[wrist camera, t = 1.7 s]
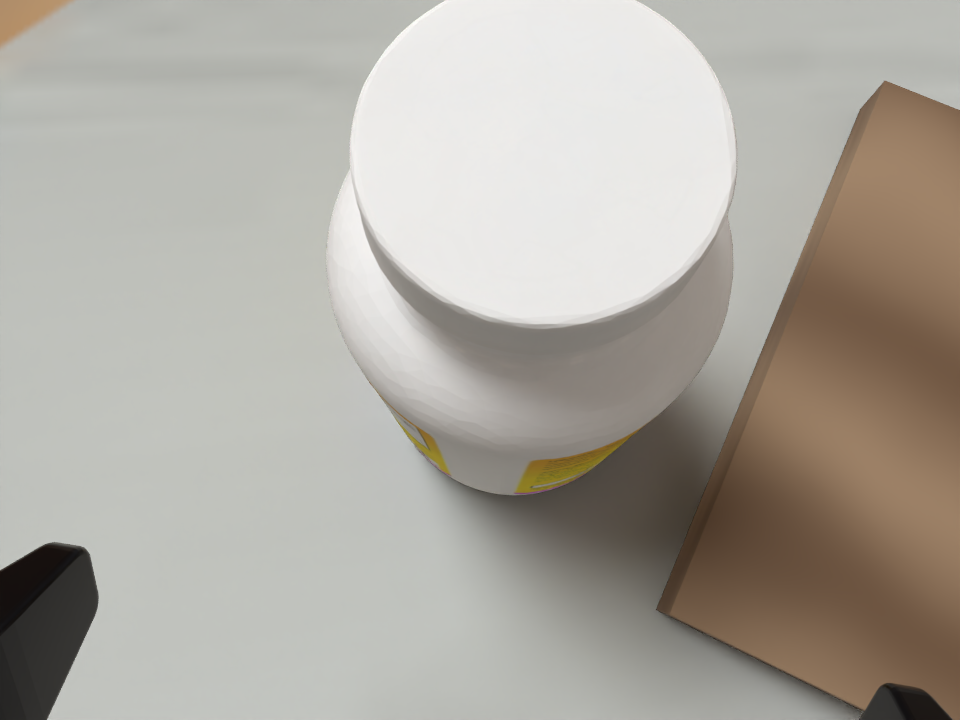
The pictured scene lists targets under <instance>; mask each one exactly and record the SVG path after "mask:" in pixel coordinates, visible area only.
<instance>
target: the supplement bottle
mask: <svg viewBox="0 0 960 720" xmlns="http://www.w3.org/2000/svg"><path fill="white" fill-rule="evenodd" d="M349 150H350V170H349V172H348V174H347V176H346V178H345V180H344V182H343V185H342V187H341V190H340V192H339V195H338V197H337V200H336V203H335V206H334V209H333V213H332V217H331V221H330V226H329V232H328V240H327V252H326V271H327V279H328V287H329V293H330V299H331V304H332V308H333V311H334V315H335V318H336V321H337V324H338V327H339V329H340V332H341V334H342V337H343V339H344V341H345V343H346V345H347V347H348V349H349V351H350V353H351V354H352V356H353V358H354V359H355V361H356V363H357V364H358V366H359V367H360V369H361V370H362V372H363V373H364V375H365V377H366V378H367V380H368V381H369V383H370V384H371V385H372V386H373V388H374V389H375V390H376V391H377V393H378V394H379V396H380V397H381V398H382V400H383V401H384V403H385V404H386V406H387V407H388V408H389V410H390V411H391V413H392V414H393V416H394V417H395V419H396V420H397V422H398V423H399V425H400V426H401V428H402V429H403V430H404V432H405V433H406V435H407V436H408V438H409V439H410V440H411V442H412V443H413V444H414V445H415V447H416V448H417V449H418V450H419V452H420V453H421V454H422V455H423V456H424V457H425V458H426V459H427V460H428V461H430V462H431V463H432V464H433V465H434V466H435V467H437V468H438V469H439V470H440V471H442V472H443V473H445V474H446V475H448V476H449V477H451V478H453V479H455V480H456V481H458V482H460V483H462V484H464V485H467V486H469V487H472V488H475V489H477V490H481V491H485V492H489V493H495V494H502V495H527V494H535V493H541V492H545V491H548V490H552V489H555V488H558V487H561V486H563V485H565V484H568V483H570V482H572V481H574V480H576V479H577V478H579V477H581V476H582V475H584V474H585V473H587V472H588V471H590V470H591V469H593V468H594V467H595V466H597V465H598V464H599V463H600V462H601V461H603V460H604V459H605V458H606V457H607V456H609V455H610V454H611V453H612V452H613V451H615V450H616V449H617V448H618V447H619V446H621V445H622V444H623V443H624V442H625V441H626V440H628V439H629V438H630V437H631V436H632V435H634V434H635V433H636V432H638V431H639V430H640V429H641V428H642V427H644V426H645V425H646V424H647V423H649V422H650V421H651V420H653V419H654V418H655V417H656V416H658V415H659V414H660V413H661V412H662V411H664V410H665V409H666V408H667V407H668V406H669V405H670V404H671V403H672V402H673V401H674V400H675V399H676V398H677V397H678V396H679V395H680V394H681V393H682V392H683V391H684V390H685V389H686V387H687V386H688V385H689V384H690V383H691V382H692V380H693V379H694V378H695V377H696V375H697V374H698V373H699V371H700V370H701V368H702V367H703V365H704V363H705V362H706V360H707V358H708V356H709V355H710V353H711V351H712V349H713V347H714V345H715V343H716V341H717V339H718V337H719V334H720V332H721V329H722V326H723V323H724V320H725V317H726V314H727V310H728V305H729V299H730V293H731V286H732V279H733V244H732V236H731V231H730V226H729V221H728V216H727V214H728V211H729V208H730V205H731V202H732V199H733V194H734V189H735V185H736V175H737V141H736V134H735V127H734V122H733V118H732V114H731V111H730V108H729V105H728V101H727V98H726V95H725V93H724V91H723V89H722V87H721V84H720V82H719V80H718V79H717V77H716V75H715V73H714V71H713V69H712V68H711V67H710V65H709V64H708V62H707V61H706V59H705V57H704V56H703V55H702V54H701V52H700V51H699V50H698V49H697V47H696V46H695V45H694V44H693V43H692V42H691V41H690V40H689V39H688V38H687V37H686V36H685V35H684V34H683V33H682V32H681V31H680V30H679V29H677V28H676V27H675V26H674V25H673V24H672V23H670V22H669V21H668V20H666V19H665V18H664V17H662V16H661V15H659V14H658V13H656V12H655V11H653V10H652V9H650V8H648V7H647V6H645V5H643V4H642V3H640V2H638V1H636V0H446V1H444V2H442V3H441V4H439V5H437V6H436V7H434V8H433V9H431V10H429V11H428V12H426V13H425V14H423V15H422V16H421V17H419V18H418V19H417V20H415V21H414V22H413V23H412V24H410V25H409V26H408V27H407V28H406V29H405V30H404V31H402V32H401V33H400V34H399V35H398V36H397V37H396V39H395V40H394V41H393V42H392V43H391V44H390V45H389V47H388V48H387V49H386V50H385V51H384V53H383V54H382V56H381V57H380V59H379V60H378V62H377V63H376V65H375V66H374V68H373V70H372V71H371V73H370V75H369V76H368V78H367V80H366V81H365V83H364V86H363V89H362V91H361V94H360V96H359V99H358V103H357V106H356V109H355V113H354V118H353V122H352V129H351V136H350V144H349Z"/></svg>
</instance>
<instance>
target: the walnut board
mask: <svg viewBox="0 0 960 720" xmlns="http://www.w3.org/2000/svg"><path fill="white" fill-rule="evenodd" d="M656 610H658V611H660V612H662V613H664V614H666V615H668V616H670V617H672V618H674V619H676V620H678V621H680V622H682V623H684V624H686V625H688V626H690V627H692V628H695V629H697V630H699V631H701V632H703V633H705V634H707V635H709V636H711V637H713V638H715V639H717V640H719V641H721V642H723V643H725V644H727V645H729V646H731V647H733V648H735V649H737V650H739V651H742V652H744V653H746V654H748V655H750V656H752V657H754V658H756V659H758V660H760V661H762V662H764V663H766V664H768V665H770V666H772V667H774V668H776V669H778V670H780V671H782V672H784V673H786V674H789V675H791V676H793V677H795V678H797V679H799V680H801V681H803V682H805V683H807V684H809V685H811V686H813V687H815V688H817V689H819V690H821V691H823V692H825V693H827V694H829V695H831V696H834V697H836V698H838V699H840V700H842V701H844V702H846V703H848V704H850V705H852V706H854V707H856V708H858V709H860V710H862V711H865V709H866V708H867V706H868V704H869V703H870V701H871V699H872V698H873V696H874V694H875V693H876V691H877V690H878V688H879V687H880V686H881V685H883V684H885V683H895V684H901V685H907V686H913V687H917V688H921V689H923V690H925V691H926V692H927V693H928V694H930V695H931V696H932V697H933V698H934V699H935V700H936V701H937V703H938V704H939V705H940V706H941V707H942V708H943V709H944V710H945V711H946V712H947V713H948V715H949V716H950V717H951V718H952V719H953V720H960V110H958V109H955V108H953V107H950V106H948V105H945V104H943V103H940V102H937V101H935V100H932V99H930V98H927V97H925V96H922V95H920V94H917V93H915V92H912V91H910V90H907V89H905V88H902V87H900V86H897V85H895V84H892V83H890V82H887V81H884V82H883V83H882V85H881V86H880V87H879V88H878V89H877V90H876V92H875V93H874V94H873V95H872V96H871V97H870V99H869V100H868V101H867V102H866V103H865V104H864V106H863V107H862V108H861V109H860V111H859V113H858V116H857V118H856V121H855V123H854V126H853V128H852V131H851V133H850V136H849V138H848V140H847V143H846V145H845V148H844V150H843V153H842V155H841V158H840V160H839V163H838V165H837V167H836V170H835V172H834V175H833V177H832V180H831V182H830V185H829V187H828V190H827V192H826V194H825V197H824V199H823V202H822V204H821V207H820V209H819V212H818V214H817V217H816V219H815V221H814V224H813V226H812V229H811V231H810V234H809V236H808V239H807V241H806V244H805V246H804V248H803V251H802V253H801V256H800V258H799V261H798V263H797V266H796V268H795V270H794V273H793V275H792V278H791V280H790V283H789V285H788V288H787V290H786V293H785V295H784V297H783V300H782V302H781V305H780V307H779V310H778V312H777V315H776V317H775V320H774V322H773V324H772V327H771V329H770V332H769V334H768V337H767V339H766V342H765V344H764V347H763V349H762V351H761V354H760V356H759V359H758V361H757V364H756V366H755V369H754V371H753V374H752V376H751V378H750V381H749V383H748V386H747V388H746V391H745V393H744V396H743V398H742V401H741V403H740V405H739V408H738V410H737V413H736V415H735V418H734V420H733V423H732V425H731V428H730V430H729V432H728V435H727V437H726V440H725V442H724V445H723V447H722V450H721V452H720V455H719V457H718V459H717V462H716V464H715V467H714V469H713V472H712V474H711V477H710V479H709V482H708V484H707V486H706V489H705V491H704V494H703V496H702V499H701V501H700V504H699V506H698V509H697V511H696V513H695V516H694V518H693V521H692V523H691V526H690V528H689V531H688V533H687V536H686V538H685V540H684V543H683V545H682V548H681V550H680V553H679V555H678V558H677V560H676V562H675V565H674V567H673V570H672V572H671V575H670V577H669V580H668V582H667V585H666V587H665V589H664V592H663V594H662V597H661V599H660V602H659V604H658V607H657V609H656Z"/></svg>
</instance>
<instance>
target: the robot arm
mask: <svg viewBox="0 0 960 720" xmlns="http://www.w3.org/2000/svg"><path fill="white" fill-rule="evenodd" d="M98 599H99V597H98V590H97V585H96V581H95V576H94V572H93V567H92V562H91V558H90V554H89V552H88V551H87V550H86V549H85V548H84V547H81V546H76V545H70V544H64V543H57V542H52V543H48V544H45V545H43V546H41V547H39V548H37V549H36V550H34V551H32V552H31V553H29V554H27V555H25V556H24V557H22V558H20V559H19V560H17V561H15V562H14V563H12V564H10V565H8V566H7V567H5V568H3V569H2V570H0V720H47V718H48V716H49V714H50V712H51V710H52V708H53V705H54V703H55V701H56V699H57V697H58V695H59V693H60V690H61V688H62V686H63V684H64V682H65V680H66V677H67V675H68V673H69V671H70V669H71V667H72V664H73V662H74V660H75V658H76V656H77V654H78V651H79V649H80V647H81V645H82V643H83V641H84V638H85V636H86V634H87V632H88V630H89V628H90V625H91V623H92V621H93V619H94V617H95V614H96V611H97V607H98ZM859 720H953V719H952V718H951V717H950V716H949V715H948V713H947V712H946V711H945V710H944V709H943V708H942V707H941V706H940V705H939V704H938V703H937V701H936V700H935V699H934V698H933V697H932V696H931V695H930V694H928V693H927V692H926V691H925V690H923V689H921V688H917V687H913V686H907V685H901V684H895V683H885V684H883V685H881V686H880V687H879V688H878V690H877V691H876V693H875V694H874V696H873V698H872V699H871V701H870V703H869V704H868V706H867V708H866V709H865V711H864V713H863V714H862V716H861V718H860V719H859Z"/></svg>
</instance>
